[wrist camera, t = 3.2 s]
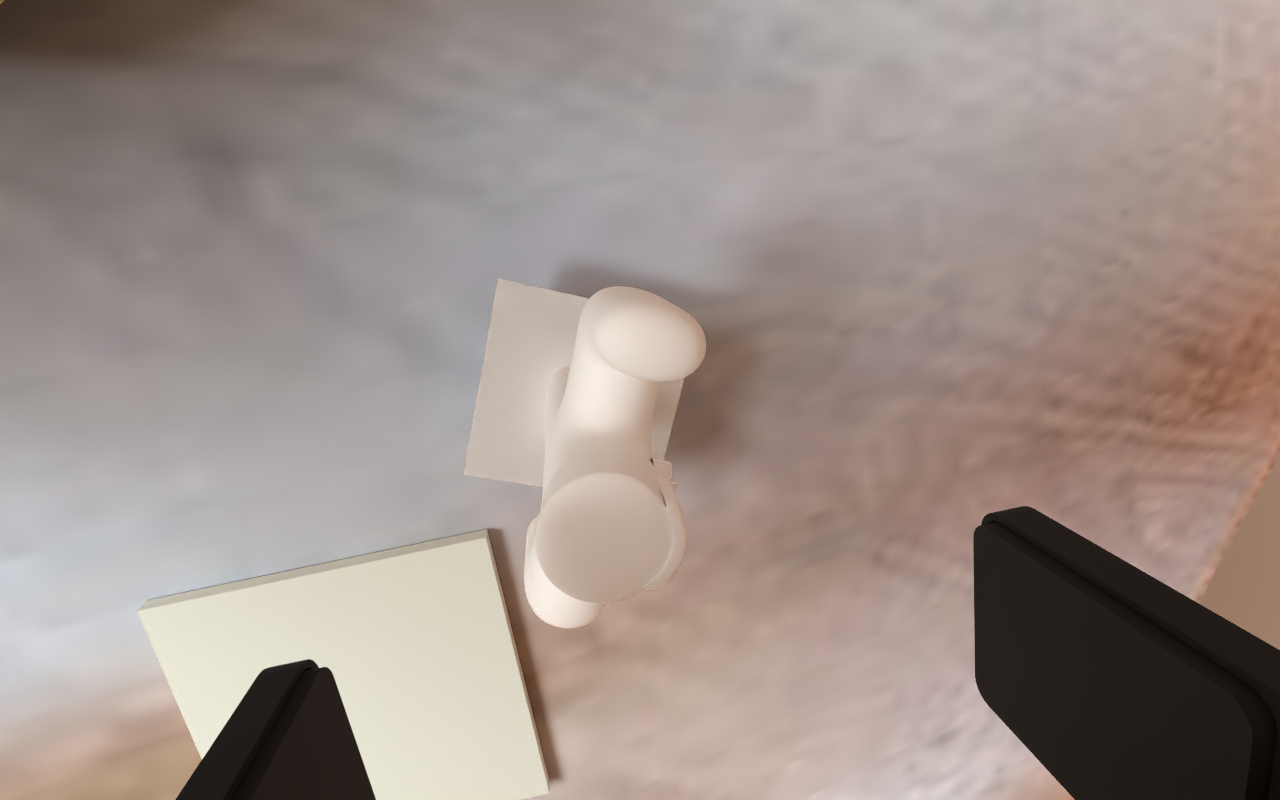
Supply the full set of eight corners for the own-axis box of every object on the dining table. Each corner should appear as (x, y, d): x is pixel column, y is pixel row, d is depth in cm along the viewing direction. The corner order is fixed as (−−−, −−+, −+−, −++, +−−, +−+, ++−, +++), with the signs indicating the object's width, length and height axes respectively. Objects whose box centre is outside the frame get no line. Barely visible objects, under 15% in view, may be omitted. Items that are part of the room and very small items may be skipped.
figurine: (468, 466, 27) (388, 736, 13) (508, 243, 25) (466, 264, 11) (633, 492, 28) (727, 761, 14) (684, 283, 26) (856, 350, 12)
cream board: (148, 600, 26) (136, 611, 26) (487, 529, 28) (485, 537, 27) (257, 852, 30) (249, 869, 29) (548, 779, 32) (549, 792, 31)
